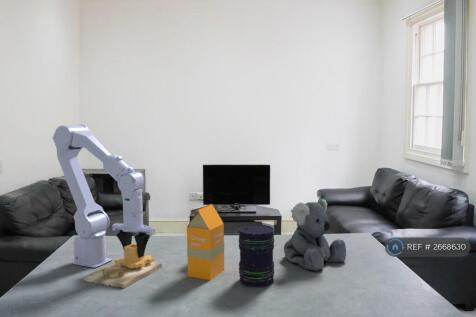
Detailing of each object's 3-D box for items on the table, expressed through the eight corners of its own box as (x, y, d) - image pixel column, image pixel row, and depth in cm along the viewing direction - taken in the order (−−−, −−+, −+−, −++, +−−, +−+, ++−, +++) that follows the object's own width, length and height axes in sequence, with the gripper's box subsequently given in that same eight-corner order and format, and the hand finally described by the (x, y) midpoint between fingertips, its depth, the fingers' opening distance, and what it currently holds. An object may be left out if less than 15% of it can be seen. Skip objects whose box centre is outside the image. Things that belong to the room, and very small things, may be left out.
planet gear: (110, 264, 135) (109, 248, 134) (131, 255, 144) (131, 240, 143) (137, 269, 131) (137, 252, 130) (157, 259, 140) (157, 243, 139)
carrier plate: (84, 280, 128) (83, 266, 127) (124, 261, 144) (124, 248, 144) (123, 288, 122) (123, 273, 122) (161, 267, 138) (161, 253, 138)
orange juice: (224, 270, 135) (224, 204, 133) (210, 280, 127) (209, 210, 125) (202, 266, 139) (200, 202, 137) (187, 276, 131) (185, 208, 129)
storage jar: (278, 276, 129) (278, 225, 128) (269, 289, 120) (269, 235, 119) (245, 273, 133) (244, 223, 131) (234, 285, 123) (233, 232, 122)
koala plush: (315, 274, 131) (315, 208, 129) (270, 259, 145) (270, 199, 142) (350, 261, 142) (351, 200, 140) (306, 248, 156) (306, 192, 154)
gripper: (104, 212, 135) (106, 256, 137) (144, 216, 129) (146, 262, 131) (120, 207, 142) (121, 249, 143) (158, 211, 136) (160, 255, 137)
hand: (134, 255), depth 137 cm, fingers closed on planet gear, 4 cm apart
